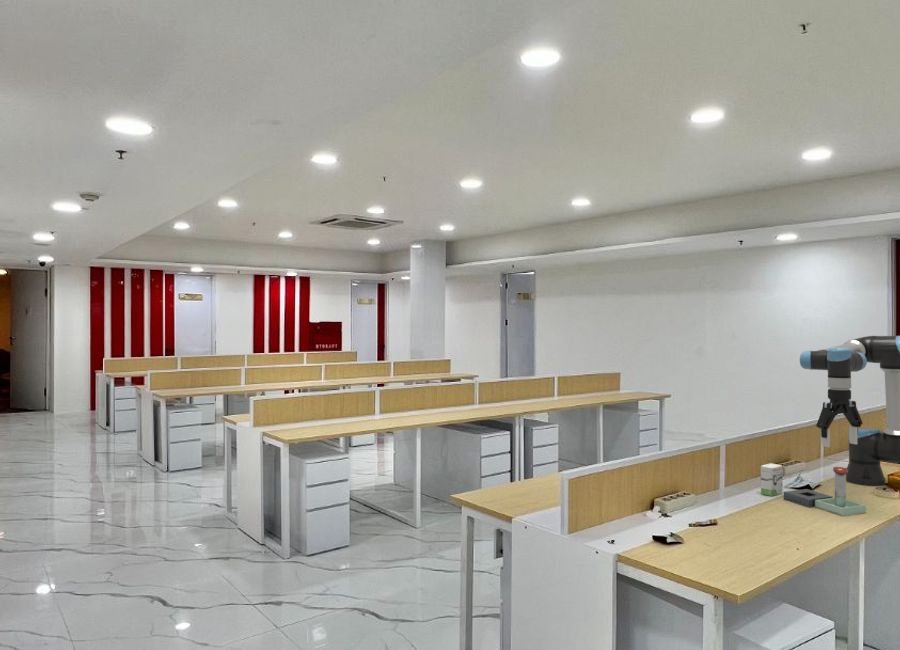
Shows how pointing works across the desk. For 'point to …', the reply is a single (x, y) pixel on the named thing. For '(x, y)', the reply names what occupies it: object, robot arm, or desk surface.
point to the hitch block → (804, 497)
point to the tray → (848, 510)
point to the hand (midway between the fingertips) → (839, 445)
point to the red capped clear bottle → (840, 486)
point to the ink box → (771, 479)
